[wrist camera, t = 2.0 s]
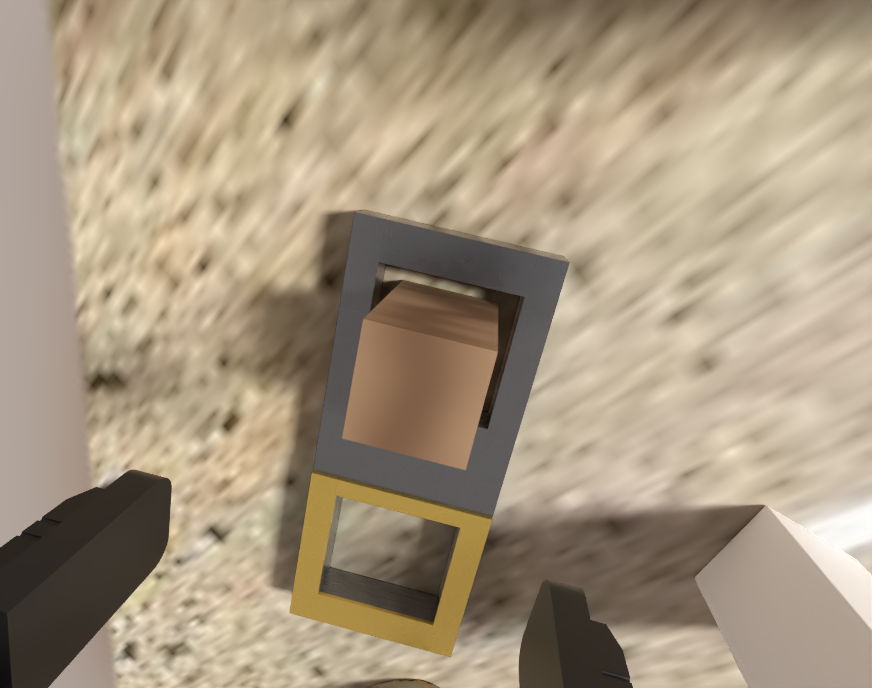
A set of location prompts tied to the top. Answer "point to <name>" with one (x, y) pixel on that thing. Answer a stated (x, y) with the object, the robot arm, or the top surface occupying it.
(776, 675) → the milk
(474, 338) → the block
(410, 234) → the gray slotted board
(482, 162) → the top surface
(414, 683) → the chocolate bunny
